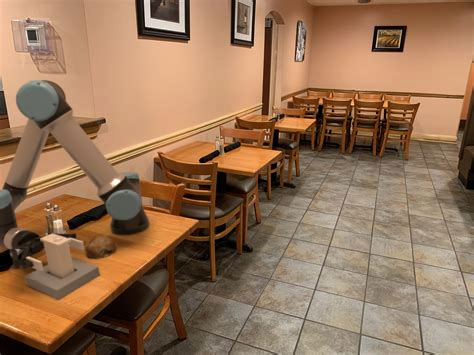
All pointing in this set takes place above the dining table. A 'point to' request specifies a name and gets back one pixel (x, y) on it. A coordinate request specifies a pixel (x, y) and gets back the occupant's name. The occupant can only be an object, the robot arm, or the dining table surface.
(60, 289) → the frame
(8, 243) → the robot arm
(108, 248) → the bread roll
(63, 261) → the cream block
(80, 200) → the dining table surface
